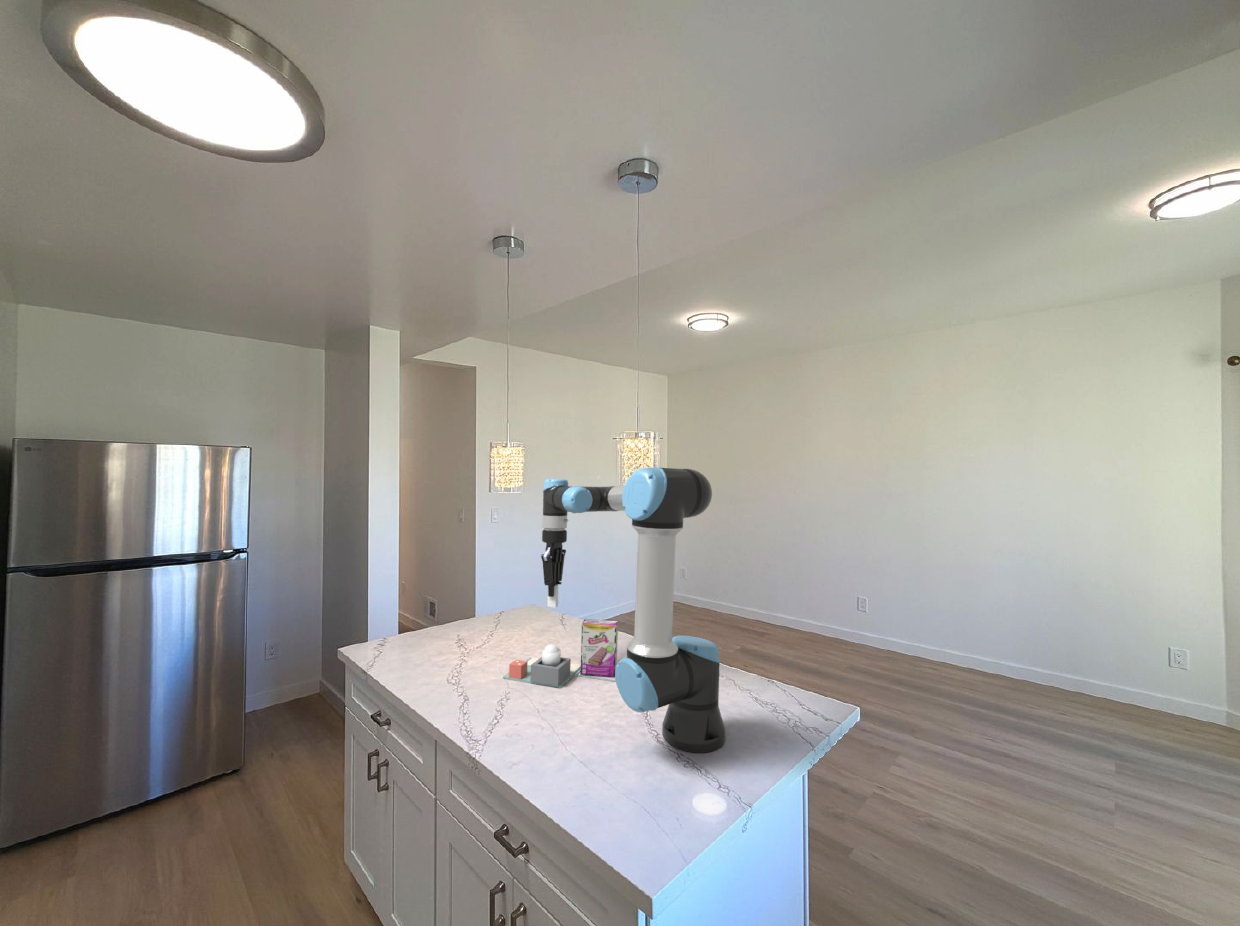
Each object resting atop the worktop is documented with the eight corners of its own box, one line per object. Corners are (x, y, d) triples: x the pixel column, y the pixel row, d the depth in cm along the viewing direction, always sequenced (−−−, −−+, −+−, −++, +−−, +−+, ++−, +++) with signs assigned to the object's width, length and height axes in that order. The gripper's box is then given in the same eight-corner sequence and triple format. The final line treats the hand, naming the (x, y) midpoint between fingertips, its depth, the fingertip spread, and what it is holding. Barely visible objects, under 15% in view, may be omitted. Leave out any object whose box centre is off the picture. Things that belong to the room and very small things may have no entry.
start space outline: (615, 681, 151) (615, 681, 151) (573, 675, 155) (573, 674, 155) (623, 672, 159) (623, 671, 159) (583, 666, 163) (583, 665, 163)
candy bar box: (580, 675, 155) (581, 623, 155) (582, 669, 160) (583, 618, 160) (615, 678, 154) (616, 625, 154) (617, 671, 159) (618, 620, 159)
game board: (559, 688, 145) (559, 669, 145) (502, 679, 151) (502, 660, 151) (581, 667, 162) (582, 649, 162) (529, 659, 168) (530, 642, 168)
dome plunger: (555, 669, 148) (556, 648, 148) (538, 666, 149) (539, 646, 150) (563, 663, 153) (563, 642, 153) (546, 660, 155) (547, 640, 155)
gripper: (556, 531, 145) (554, 613, 144) (574, 527, 158) (572, 602, 157) (533, 530, 147) (531, 610, 147) (552, 526, 160) (550, 600, 159)
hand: (552, 606), depth 152 cm, fingers closed
